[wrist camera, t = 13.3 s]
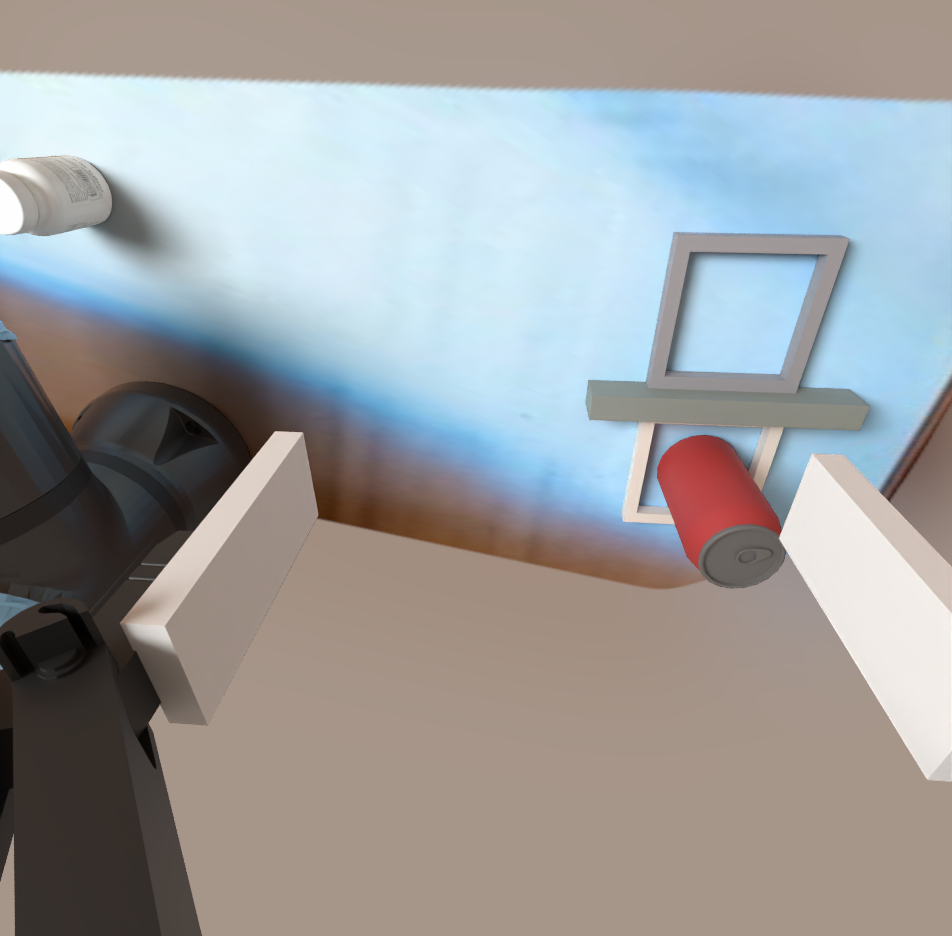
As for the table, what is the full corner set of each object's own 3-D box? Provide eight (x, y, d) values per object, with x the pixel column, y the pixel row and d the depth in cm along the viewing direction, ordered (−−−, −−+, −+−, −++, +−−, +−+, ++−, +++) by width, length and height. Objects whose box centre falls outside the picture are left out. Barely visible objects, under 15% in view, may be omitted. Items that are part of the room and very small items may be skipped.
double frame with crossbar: (572, 511, 50) (574, 531, 48) (606, 231, 37) (613, 238, 35) (795, 522, 49) (810, 543, 47) (910, 236, 36) (940, 245, 34)
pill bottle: (54, 141, 37) (-47, 145, 31) (119, 177, 38) (35, 188, 31) (48, 203, 39) (-47, 219, 33) (109, 236, 40) (29, 258, 34)
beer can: (737, 488, 48) (794, 586, 38) (660, 502, 49) (695, 601, 39) (733, 423, 44) (795, 512, 34) (650, 441, 46) (686, 531, 36)
